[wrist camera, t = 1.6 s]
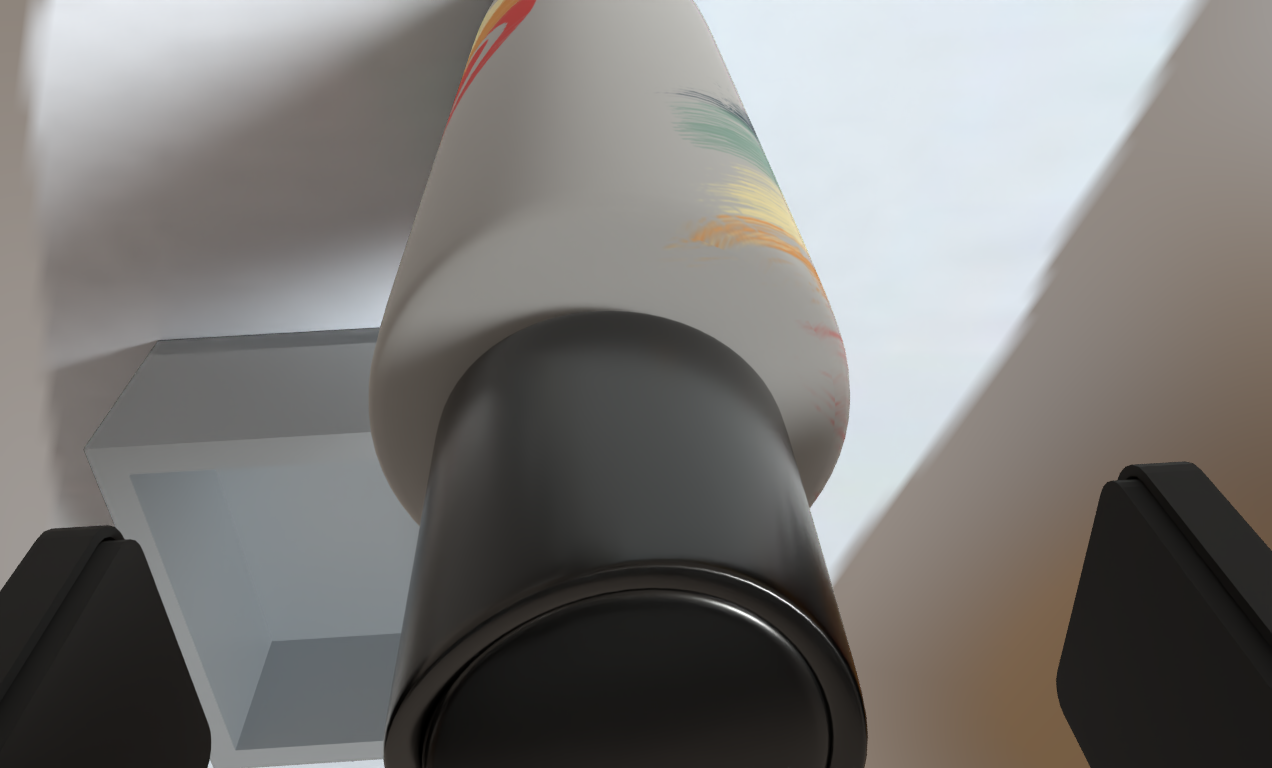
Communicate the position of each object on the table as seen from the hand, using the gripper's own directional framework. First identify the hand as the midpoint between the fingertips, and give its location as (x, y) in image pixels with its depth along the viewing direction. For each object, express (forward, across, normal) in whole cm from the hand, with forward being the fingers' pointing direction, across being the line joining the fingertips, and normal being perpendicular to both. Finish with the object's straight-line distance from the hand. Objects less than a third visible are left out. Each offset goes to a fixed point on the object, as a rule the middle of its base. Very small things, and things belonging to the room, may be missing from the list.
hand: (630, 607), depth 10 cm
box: (+18, +7, +12) cm, 22 cm away
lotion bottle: (+18, 0, -1) cm, 18 cm away
